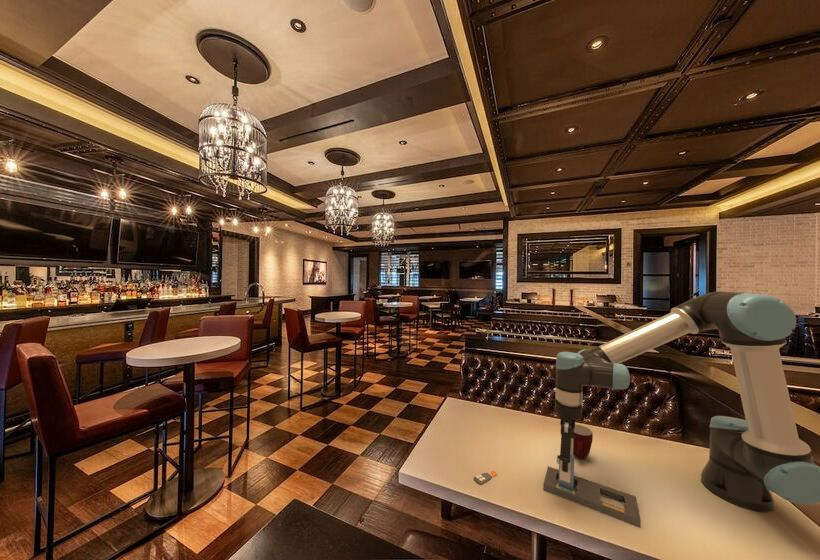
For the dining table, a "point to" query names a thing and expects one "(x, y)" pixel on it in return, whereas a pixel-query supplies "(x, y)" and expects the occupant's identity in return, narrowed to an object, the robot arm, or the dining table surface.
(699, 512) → the dining table surface
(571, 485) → the plug
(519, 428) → the dining table surface
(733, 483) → the robot arm
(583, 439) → the mug
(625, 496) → the panel
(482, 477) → the key chain
